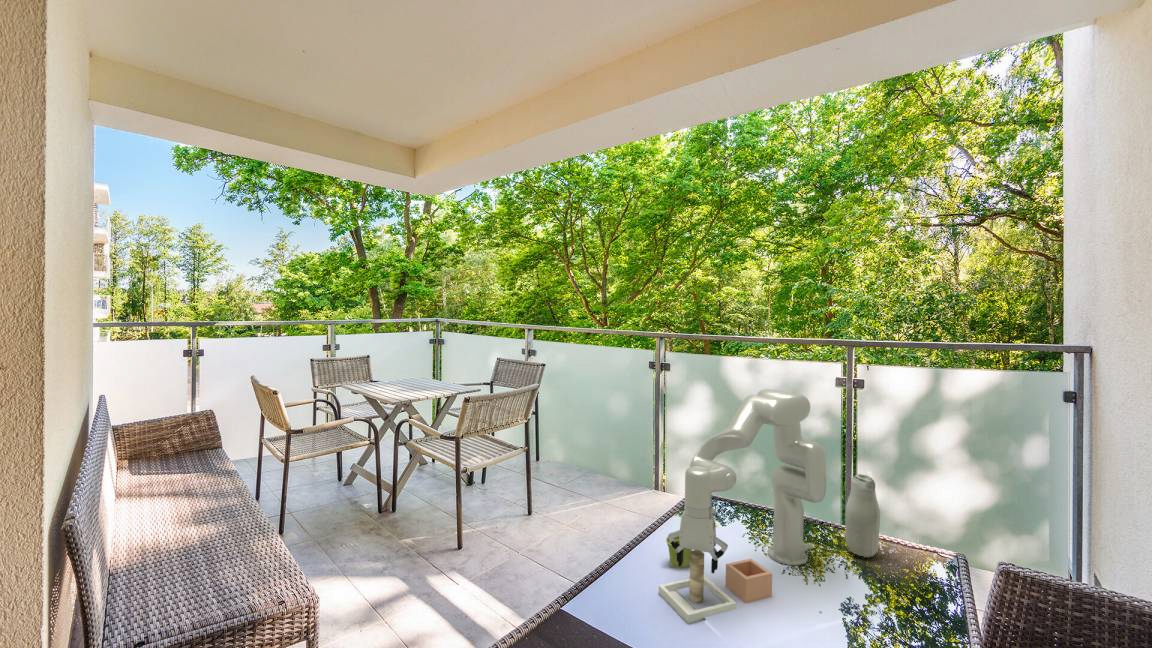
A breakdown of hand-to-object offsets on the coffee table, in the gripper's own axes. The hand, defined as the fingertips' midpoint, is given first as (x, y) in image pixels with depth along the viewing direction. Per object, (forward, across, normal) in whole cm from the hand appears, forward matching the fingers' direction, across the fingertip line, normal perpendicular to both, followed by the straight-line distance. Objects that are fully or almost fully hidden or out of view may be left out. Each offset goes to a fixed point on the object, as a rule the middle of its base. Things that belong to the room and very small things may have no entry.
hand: (696, 567), depth 155 cm
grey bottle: (+11, -47, -52) cm, 71 cm away
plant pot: (+11, +9, -19) cm, 24 cm away
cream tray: (+10, 0, 0) cm, 10 cm away
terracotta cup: (+10, -13, -11) cm, 20 cm away
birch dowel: (+10, 0, 0) cm, 10 cm away
